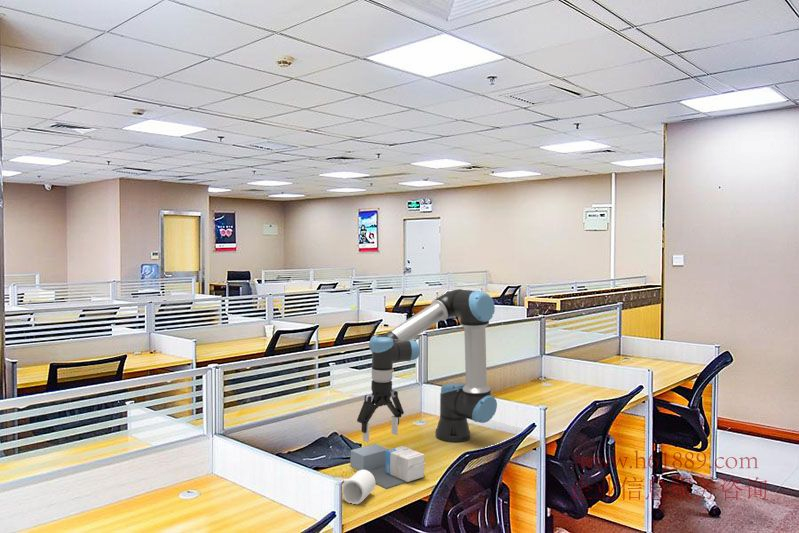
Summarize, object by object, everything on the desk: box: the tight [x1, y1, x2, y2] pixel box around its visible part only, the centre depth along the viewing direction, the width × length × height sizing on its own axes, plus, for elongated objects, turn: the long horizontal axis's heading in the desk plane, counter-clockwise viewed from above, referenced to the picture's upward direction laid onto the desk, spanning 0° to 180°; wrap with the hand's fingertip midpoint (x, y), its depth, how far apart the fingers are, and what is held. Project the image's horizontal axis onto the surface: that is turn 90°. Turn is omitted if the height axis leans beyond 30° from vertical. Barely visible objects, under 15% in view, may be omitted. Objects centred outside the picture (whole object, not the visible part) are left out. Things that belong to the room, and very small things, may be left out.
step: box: [349, 443, 390, 471], centre depth 233 cm, size 12×8×6 cm, turn 131°
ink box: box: [385, 445, 428, 483], centre depth 223 cm, size 9×8×13 cm
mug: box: [342, 470, 376, 505], centre depth 204 cm, size 12×10×8 cm
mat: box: [369, 466, 425, 490], centre depth 224 cm, size 18×16×1 cm
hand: (380, 437), depth 228 cm, fingers open, 13 cm apart
